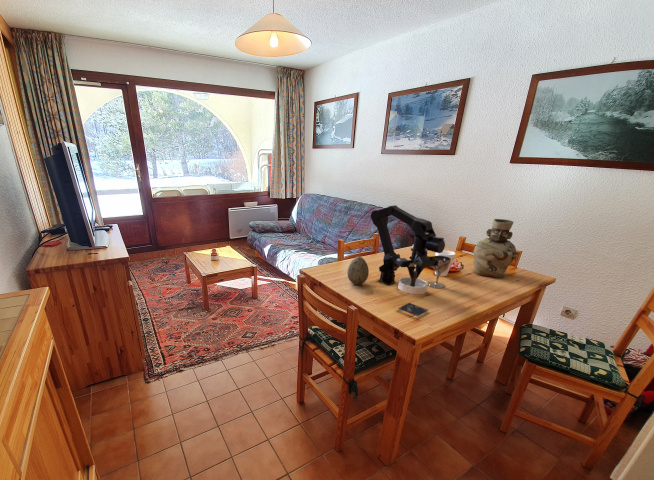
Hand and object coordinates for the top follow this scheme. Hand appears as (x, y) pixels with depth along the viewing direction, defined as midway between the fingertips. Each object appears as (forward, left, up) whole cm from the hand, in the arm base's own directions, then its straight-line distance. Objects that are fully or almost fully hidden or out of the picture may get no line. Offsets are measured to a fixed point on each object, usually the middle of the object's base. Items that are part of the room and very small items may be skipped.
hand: (413, 278), depth 152 cm
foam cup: (-2, +35, -7) cm, 36 cm away
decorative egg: (-23, -14, -7) cm, 28 cm away
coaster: (+12, -20, -7) cm, 24 cm away
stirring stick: (0, 0, -6) cm, 6 cm away
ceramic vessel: (+14, +59, -7) cm, 61 cm away
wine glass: (+4, +17, -7) cm, 19 cm away
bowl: (0, 0, -7) cm, 7 cm away
